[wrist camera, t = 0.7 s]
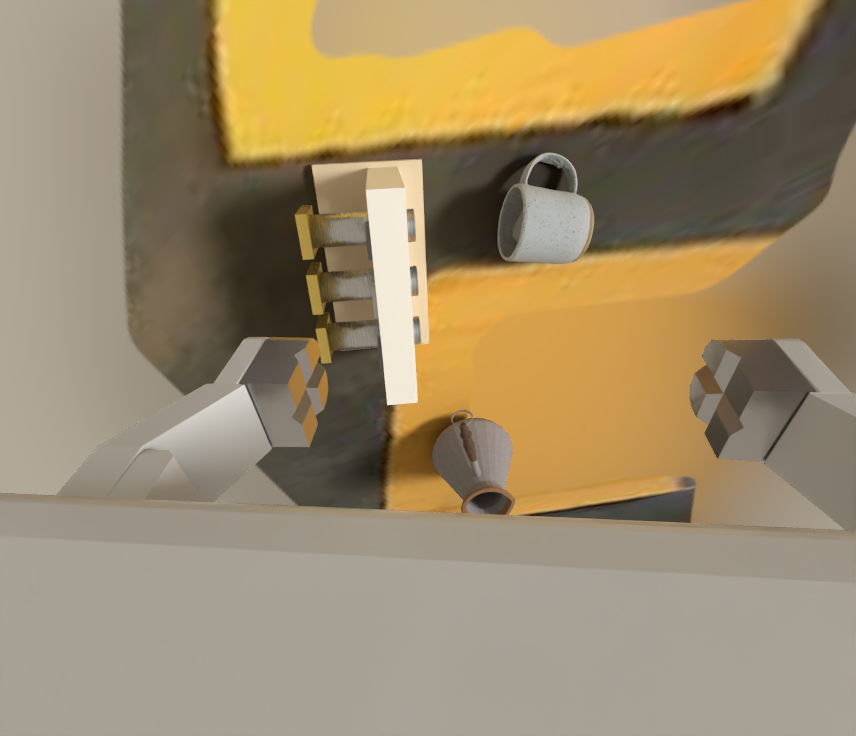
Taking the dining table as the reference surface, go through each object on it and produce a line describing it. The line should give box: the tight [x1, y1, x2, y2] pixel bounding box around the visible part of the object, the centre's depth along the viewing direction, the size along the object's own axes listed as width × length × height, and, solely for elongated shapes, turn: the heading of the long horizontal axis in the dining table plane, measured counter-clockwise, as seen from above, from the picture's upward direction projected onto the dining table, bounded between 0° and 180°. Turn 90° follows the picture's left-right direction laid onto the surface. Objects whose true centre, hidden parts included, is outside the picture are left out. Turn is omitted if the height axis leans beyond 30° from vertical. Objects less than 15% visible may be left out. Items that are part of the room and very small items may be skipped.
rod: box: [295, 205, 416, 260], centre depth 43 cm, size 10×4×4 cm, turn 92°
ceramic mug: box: [498, 153, 594, 264], centre depth 47 cm, size 11×8×8 cm
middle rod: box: [306, 262, 419, 315], centre depth 45 cm, size 10×4×4 cm, turn 92°
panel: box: [312, 159, 429, 405], centre depth 46 cm, size 11×21×14 cm, turn 2°
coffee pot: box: [432, 410, 515, 515], centre depth 57 cm, size 21×12×15 cm, turn 15°
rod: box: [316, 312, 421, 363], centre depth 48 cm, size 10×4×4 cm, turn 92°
